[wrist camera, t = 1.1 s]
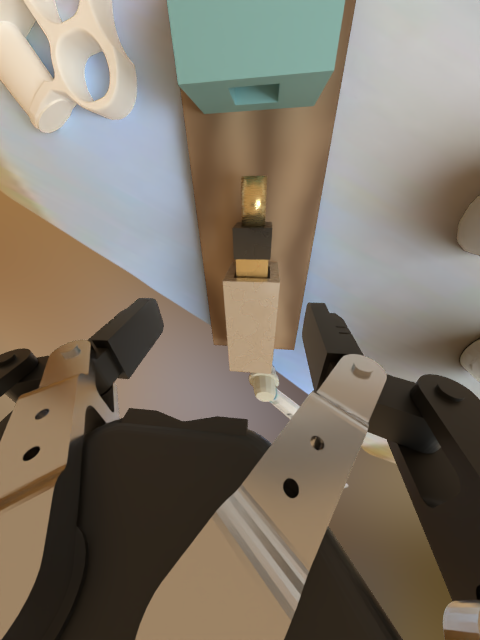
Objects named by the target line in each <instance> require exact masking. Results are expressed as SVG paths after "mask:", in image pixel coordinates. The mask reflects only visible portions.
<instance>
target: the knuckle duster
mask: <svg viewBox="0 0 480 640" xmlns="http://www.w3.org/2000/svg"><path fill="white" fill-rule="evenodd" d="M35 21H37V23H38V24H39V26H40V27H41V29H42V30H43V32H44V33H45V35H46V36H47V38H48V41H49V44H50V52H51V60H52V64H53V68H54V73H55V76H54V79H53V77H52V76H51V74H50V73H49V71H48V70H47V69H46V67H45V66H44V64H43V63H42V61H41V60H40V58H39V57H38V56H37V54H36V53H35V51H34V50H33V48H32V47H31V45H30V44H29V43H28V41H27V40H26V37H27V36H28V34H29V32H30V30H31V28H32V27H33V25H34V23H35ZM102 51H103V52H104V54H105V57H106V60H107V63H108V67H109V72H110V84H109V89H108V91H107V93H106V95H105V96H104V97H103V98H101V99H98V100H96V101H94V100H93V99H92V97H91V95H90V93H89V91H88V88H87V85H86V81H85V65H86V62H87V60H88V59H89V58H90V57H91V56H93V55H95V54H97V53H99V52H102ZM0 80H1V81H2V82H3V84H4V85H5V86H6V88H7V89H8V90H9V91H10V93H11V94H12V95H13V97H14V98H15V99H16V100H17V102H18V103H19V104H20V105H21V107H22V108H23V109H24V111H25V112H26V113H27V114H28V116H29V117H30V119H31V122H32V124H33V125H34V126H35V127H36V128H37V129H39V130H40V131H41V132H44V133H51V132H54V131H56V130H58V129H59V128H61V127H62V126H63V124H64V123H65V122H66V121H67V119H68V118H69V117H70V115H71V112H72V110H73V108H74V107H75V106H76V104H78V105H80V106H81V107H83V108H85V109H87V110H89V111H91V112H94V113H96V114H98V115H101V116H103V117H105V118H108V119H111V120H120V119H123V118H125V117H126V116H127V115H128V114H129V113H130V112H131V111H132V109H133V107H134V104H135V101H136V97H137V76H136V70H135V66H134V64H133V63H132V62H131V60H130V59H129V58H128V56H127V55H126V53H125V51H124V49H123V47H122V45H121V43H120V40H119V38H118V35H117V32H116V28H115V23H114V18H113V7H112V0H80V1H79V6H78V10H77V12H76V14H75V15H74V16H73V17H72V18H70V19H68V20H66V21H65V22H63V23H62V21H61V19H60V17H59V14H58V11H57V7H56V2H55V0H0Z"/></svg>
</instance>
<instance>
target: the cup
mask: <svg viewBox="0 0 480 640" xmlns="http://www.w3.org/2000/svg"><path fill="white" fill-rule="evenodd" d="M457 241H458V243H459V244H460V246H461V247H462V249H463V250H464V251H467V252H470V253H473V254H476V255H479V256H480V195H479V196H478V197H477V198H476V199H475V200H474V201H473V202H472V203H471V204H470V205H469V206H468V208H467V210H466V212H465V213H464V215H463V217H462V218H461V220H460V222H459V223H458V232H457Z"/></svg>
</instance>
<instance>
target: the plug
mask: <svg viewBox="0 0 480 640" xmlns="http://www.w3.org/2000/svg"><path fill="white" fill-rule="evenodd" d="M266 195H267V176H242V177H241V210H242V222H237V223H236V224H235V226H234V227H233V228H232V231H233V255H234V259H236V277H237V278H262V279H267V275H268V260H270V258H271V243H272V222H265V218H266Z"/></svg>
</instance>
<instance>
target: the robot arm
mask: <svg viewBox="0 0 480 640" xmlns="http://www.w3.org/2000/svg"><path fill="white" fill-rule="evenodd" d="M163 327H164V325H163V320H162V317H161V314H160V310H159V307H158V304H157V302H156V300H155V299H153V298H139V299H137V300H136V301H135V302H134V303H133V304H132V305H131V306H129V307H128V308H127V309H125V310H123V311H121V312H120V313H119V314H117V315H116V316H115V317H114V319H112V320H110V321H109V323H108V324H106V325H105V326H103V327H102V328H101V329H100V330H99V331H98V332H96V333H95V334H94V335H93V336H92V337H91V338H89V339H88V340H76V341H72V342H69V343H67V344H64V345H62V346H60V347H59V348H57V349H56V350H55V351H54V352H52V353H51V354H50V356H45V357H38V358H36V357H35V356H34V355H33V353H32V352H31V351H30V350H29V349H16V350H13V351H9V352H6V353H4V354H1V355H0V397H1V396H2V395H3V394H6V395H7V396H8V397H9V398H11V399H12V400H13V401H14V402H15V403H16V405H15V407H14V410H13V411H12V412H11V413H10V414H8V415H7V416H6V417H5V418H4V419H3V420H2V421H1V422H0V640H403V639H402V638H401V636H400V635H399V633H398V632H397V630H396V629H395V627H394V626H393V624H392V622H391V621H390V619H389V618H388V616H387V615H386V613H385V612H384V610H383V609H382V607H381V606H380V604H379V603H378V601H377V600H376V598H375V597H374V595H373V593H372V592H371V590H370V589H369V588H368V586H367V584H366V583H365V581H364V580H363V578H362V577H361V575H360V574H359V572H358V571H357V569H356V568H355V566H354V564H353V563H352V561H351V560H350V558H349V557H348V555H347V554H346V552H345V551H344V550H343V548H342V546H341V545H340V543H339V542H338V540H337V539H336V537H335V535H334V534H333V532H332V531H331V529H330V528H329V526H328V525H329V522H330V520H331V517H332V515H333V513H334V510H335V508H336V505H337V503H338V501H339V498H340V496H341V493H342V491H343V489H344V486H345V484H346V481H347V479H348V477H349V474H350V472H351V469H352V467H353V464H354V462H355V459H356V457H357V455H358V452H359V450H360V447H361V445H362V443H363V440H364V438H365V436H366V433H367V432H370V433H372V434H375V435H377V436H380V437H382V438H385V439H387V442H388V444H389V446H390V449H391V451H392V454H393V456H394V459H395V461H396V464H397V466H398V468H399V471H400V473H401V475H402V478H403V481H404V483H405V485H406V488H407V491H408V493H409V495H410V498H411V500H412V502H413V505H414V508H415V510H416V513H417V515H418V517H419V520H420V522H421V525H422V527H423V530H424V532H425V534H426V537H427V539H428V542H429V544H430V547H431V549H432V551H433V554H434V557H435V559H436V561H437V564H438V566H439V569H440V571H441V573H442V576H443V578H444V581H445V583H446V586H447V588H448V591H449V593H450V596H451V598H452V601H453V602H451V603H449V605H448V606H447V607H446V609H445V612H444V616H443V630H444V637H445V640H480V400H479V399H478V397H477V396H476V395H475V394H474V393H472V392H471V391H470V390H469V389H467V388H466V387H464V386H463V385H461V384H459V383H458V382H456V381H454V380H451V379H449V378H446V377H443V376H439V375H432V374H428V375H423V376H421V377H420V378H419V379H418V381H417V382H416V383H414V382H410V381H407V380H403V379H400V378H396V377H393V376H390V375H387V374H386V372H385V370H384V369H383V367H382V366H381V365H380V364H378V363H377V362H376V361H374V360H372V359H370V358H368V357H366V356H364V355H363V354H362V352H361V350H360V348H359V347H358V345H357V343H356V341H355V339H354V338H353V336H352V334H351V332H350V331H349V329H348V328H347V325H346V323H345V322H344V320H343V319H342V318H341V317H339V316H338V315H337V314H335V313H329V311H328V309H327V307H326V305H325V303H308V304H307V307H306V313H305V318H304V324H303V330H302V338H303V343H304V348H305V352H306V357H307V361H308V365H309V370H310V374H311V379H312V383H313V387H314V391H312V392H311V393H310V394H309V395H308V397H307V398H306V399H305V401H304V402H303V403H302V405H301V406H300V407H299V409H298V410H297V411H296V413H295V414H294V415H293V417H292V418H291V419H290V421H289V422H288V423H287V425H286V426H285V427H284V429H283V430H282V431H281V433H280V434H279V435H278V437H277V438H276V439H275V441H274V442H273V443H272V444H271V443H270V442H269V441H268V440H266V439H265V438H264V437H262V436H261V435H259V434H257V433H256V432H254V431H251V430H248V420H247V419H237V418H228V417H211V418H204V419H198V420H192V421H180V420H178V419H175V418H173V417H171V416H168V415H165V414H163V413H161V412H159V411H154V410H144V409H133V408H129V410H128V411H127V413H126V414H125V416H124V417H123V418H122V419H119V408H118V395H117V385H116V384H115V380H116V379H117V378H123V379H129V378H130V377H131V375H132V374H133V372H134V371H135V370H136V368H137V367H138V365H139V364H140V363H141V361H142V360H143V358H144V357H145V356H146V354H147V353H148V352H149V350H150V349H151V347H152V346H153V345H154V343H155V342H156V340H157V339H158V338H159V336H160V335H161V333H162V331H163ZM460 363H461V365H462V367H464V368H465V369H466V370H467V371H468V372H469V373H470V374H471V375H472V376H473V377H474V378H475V379H476V380H477V381H479V382H480V339H479V340H477V341H475V342H474V343H472V344H471V345H470V346H468V347H467V348H466V349H465V350H464V352H463V353H462V355H461V358H460Z"/></svg>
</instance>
